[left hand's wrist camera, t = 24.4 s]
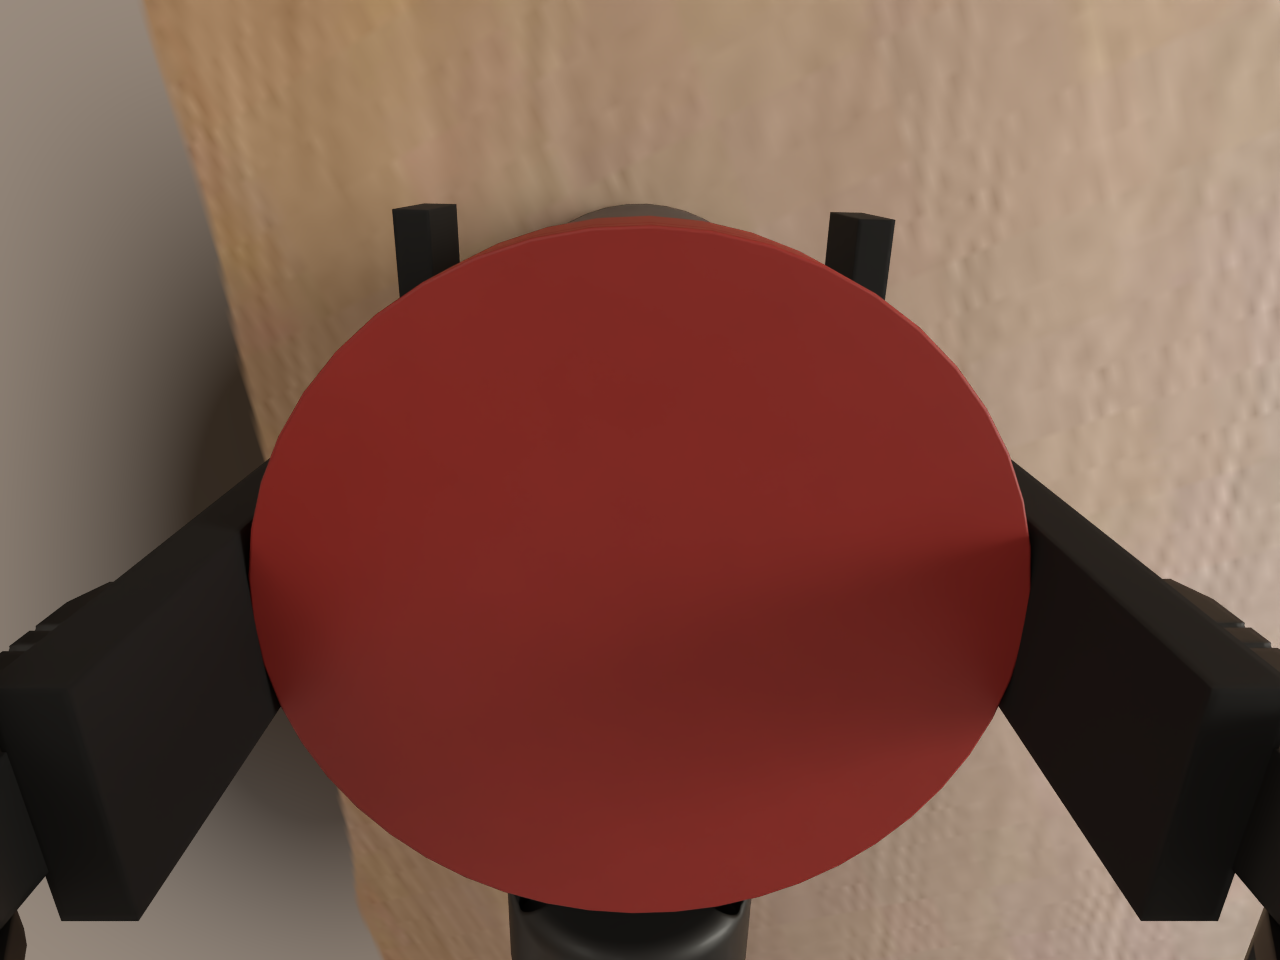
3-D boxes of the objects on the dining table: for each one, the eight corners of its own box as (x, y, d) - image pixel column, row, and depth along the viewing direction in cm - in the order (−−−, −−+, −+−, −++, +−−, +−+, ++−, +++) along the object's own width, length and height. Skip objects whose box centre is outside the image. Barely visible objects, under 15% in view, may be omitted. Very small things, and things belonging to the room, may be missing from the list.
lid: (427, 73, 9) (385, 55, 8) (1119, 403, 11) (1199, 442, 9) (227, 709, 13) (171, 785, 11) (782, 897, 14) (799, 989, 13)
